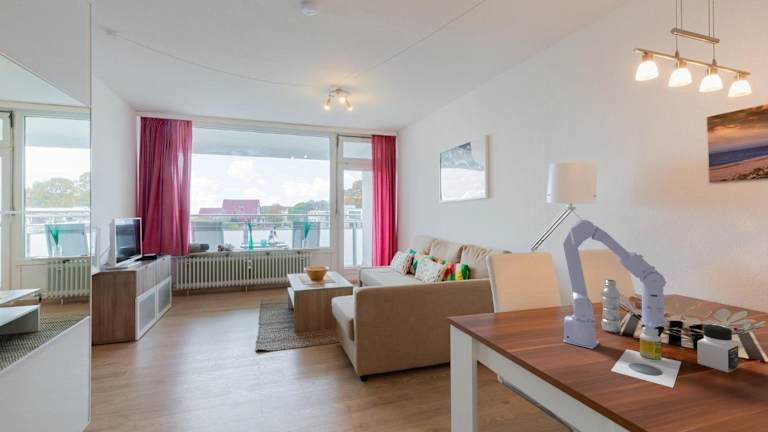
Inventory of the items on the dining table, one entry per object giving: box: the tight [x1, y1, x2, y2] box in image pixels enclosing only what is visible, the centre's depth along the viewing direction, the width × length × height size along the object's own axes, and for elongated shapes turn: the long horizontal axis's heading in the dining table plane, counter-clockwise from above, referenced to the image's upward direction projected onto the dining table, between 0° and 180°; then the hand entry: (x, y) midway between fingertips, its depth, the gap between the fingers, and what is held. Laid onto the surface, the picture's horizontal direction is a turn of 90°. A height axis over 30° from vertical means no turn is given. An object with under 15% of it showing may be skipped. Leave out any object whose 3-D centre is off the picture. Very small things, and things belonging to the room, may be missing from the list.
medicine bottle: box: [696, 323, 740, 374], centre depth 102 cm, size 7×7×12 cm
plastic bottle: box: [600, 279, 622, 333], centre depth 132 cm, size 6×7×20 cm
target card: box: [610, 349, 682, 388], centre depth 102 cm, size 14×22×1 cm, turn 134°
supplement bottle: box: [639, 327, 662, 362], centre depth 107 cm, size 5×5×10 cm
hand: (653, 348), depth 110 cm, fingers closed
